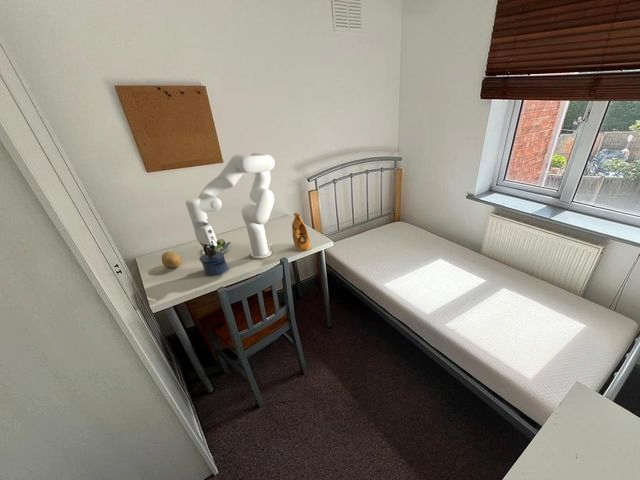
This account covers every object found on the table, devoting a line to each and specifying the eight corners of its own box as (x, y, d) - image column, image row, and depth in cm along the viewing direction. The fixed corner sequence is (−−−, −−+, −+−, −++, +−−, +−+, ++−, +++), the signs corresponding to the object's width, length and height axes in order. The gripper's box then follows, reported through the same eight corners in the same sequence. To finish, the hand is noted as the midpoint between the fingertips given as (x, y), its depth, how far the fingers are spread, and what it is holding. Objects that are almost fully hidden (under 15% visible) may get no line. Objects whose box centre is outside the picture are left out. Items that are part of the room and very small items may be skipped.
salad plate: (234, 253, 183) (232, 247, 181) (203, 260, 176) (200, 253, 174) (230, 242, 198) (229, 236, 196) (201, 248, 191) (199, 241, 188)
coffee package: (296, 252, 183) (291, 219, 172) (293, 244, 193) (288, 212, 182) (311, 250, 186) (307, 217, 175) (308, 242, 196) (304, 210, 185)
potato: (168, 273, 163) (163, 261, 159) (161, 265, 172) (156, 253, 167) (187, 267, 169) (182, 255, 165) (179, 259, 177) (175, 247, 173)
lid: (213, 251, 167) (210, 240, 163) (229, 255, 162) (225, 244, 159) (194, 260, 157) (190, 249, 154) (210, 265, 153) (206, 253, 149)
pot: (214, 264, 172) (210, 251, 168) (235, 270, 166) (231, 256, 161) (197, 273, 163) (193, 259, 159) (219, 279, 157) (214, 266, 153)
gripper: (218, 223, 149) (227, 254, 159) (196, 218, 155) (206, 249, 165) (205, 228, 143) (216, 260, 153) (183, 223, 149) (194, 254, 159)
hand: (211, 254), depth 159 cm, fingers closed on lid, 3 cm apart
